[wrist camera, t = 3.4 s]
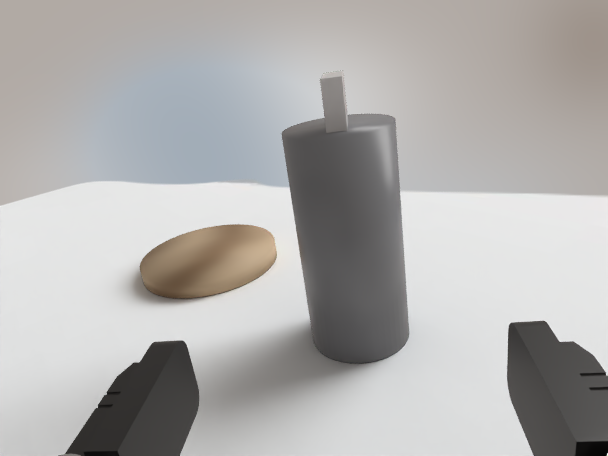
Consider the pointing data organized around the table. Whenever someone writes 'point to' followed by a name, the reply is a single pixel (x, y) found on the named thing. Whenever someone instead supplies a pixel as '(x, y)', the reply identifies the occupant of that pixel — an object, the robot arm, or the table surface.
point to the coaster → (208, 261)
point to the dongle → (349, 228)
